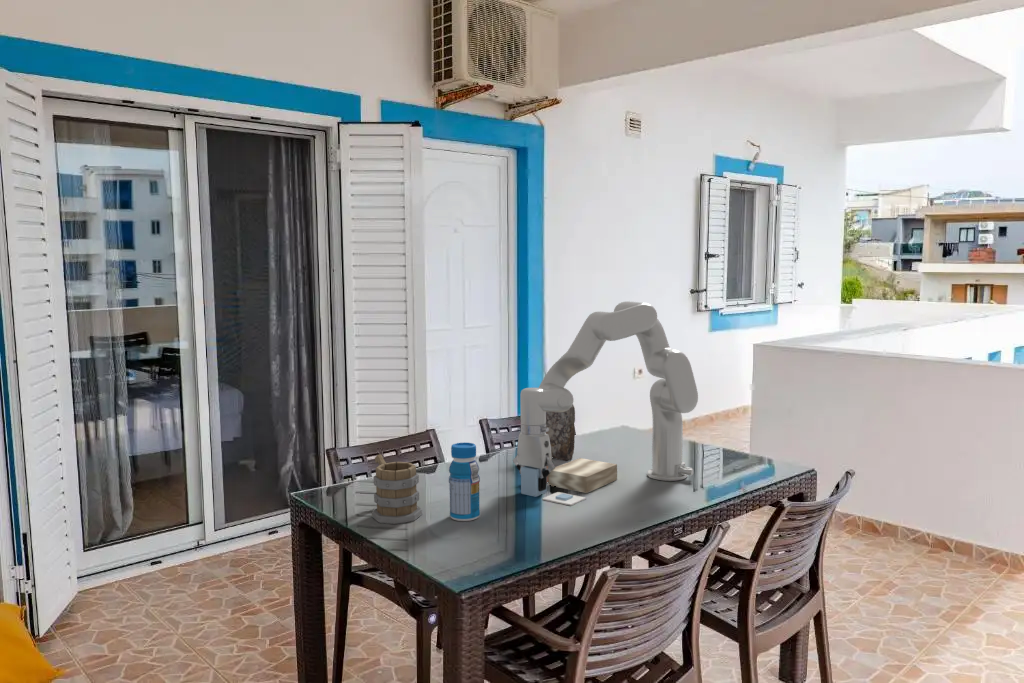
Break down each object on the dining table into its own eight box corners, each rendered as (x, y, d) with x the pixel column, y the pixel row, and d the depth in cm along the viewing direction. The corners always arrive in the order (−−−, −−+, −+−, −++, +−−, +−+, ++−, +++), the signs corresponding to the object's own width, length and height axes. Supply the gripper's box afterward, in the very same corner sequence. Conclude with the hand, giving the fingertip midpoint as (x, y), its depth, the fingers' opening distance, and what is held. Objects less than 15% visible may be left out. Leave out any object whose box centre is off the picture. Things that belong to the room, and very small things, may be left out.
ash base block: (617, 479, 239) (617, 464, 238) (586, 493, 225) (586, 476, 224) (580, 472, 247) (580, 458, 247) (548, 485, 233) (548, 469, 233)
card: (586, 498, 219) (586, 495, 219) (570, 505, 213) (570, 502, 213) (557, 493, 225) (557, 489, 225) (542, 499, 219) (542, 496, 219)
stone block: (537, 456, 270) (536, 401, 268) (549, 452, 276) (548, 399, 274) (566, 462, 262) (566, 405, 260) (578, 458, 267) (578, 402, 265)
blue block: (546, 492, 226) (546, 466, 225) (535, 496, 222) (535, 470, 221) (532, 489, 229) (531, 463, 229) (521, 493, 225) (520, 467, 224)
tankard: (427, 518, 203) (426, 464, 202) (383, 527, 197) (381, 471, 196) (400, 499, 221) (399, 449, 219) (359, 506, 214) (357, 455, 213)
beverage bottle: (452, 523, 199) (451, 449, 197) (446, 513, 207) (445, 442, 205) (483, 520, 201) (482, 447, 199) (476, 510, 209) (475, 440, 207)
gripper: (564, 430, 221) (564, 490, 223) (518, 423, 232) (518, 481, 234) (549, 435, 216) (550, 496, 217) (503, 428, 226) (503, 486, 228)
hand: (533, 487), depth 225 cm, fingers closed on blue block, 5 cm apart
